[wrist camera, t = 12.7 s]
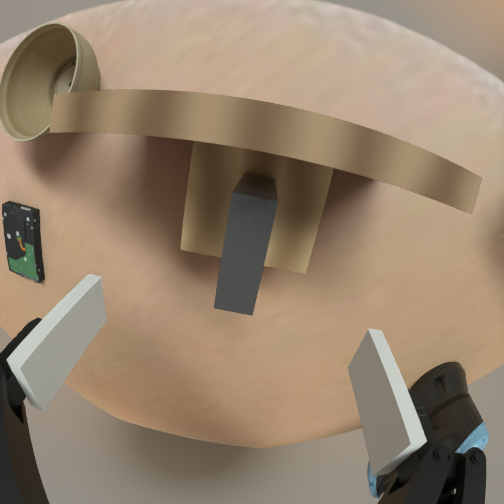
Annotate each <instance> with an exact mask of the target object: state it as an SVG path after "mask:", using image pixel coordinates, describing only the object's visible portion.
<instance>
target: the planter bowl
mask: <svg viewBox="0 0 504 504" xmlns="http://www.w3.org/2000/svg"><path fill="white" fill-rule="evenodd" d="M71 82H72V84H71V87H70V86H69V85H70V83H71ZM99 83H100V71H99V68H98V65H97V60H96V56H95V53H94V51H93V49H92V47H91V45H90V44H89V43H88V41H87V40H86V39H85V38H84V37H83V36H82V35H80V34H79V33H78V32H76V31H74V30H73V29H72V28H71V27H69V26H67V25H65V24H63V23H58V22H54V23H48V24H45V25H42V26H40V27H38V28H37V29H35V30H34V31H32V32H31V33H30V34H28V35H27V36H26V37H25V38H24V39H23V40H22V41H21V42H20V43H19V45H18V46H17V47H16V49H15V50H14V52H13V53H12V55H11V56H10V58H9V60H8V62H7V64H6V66H5V68H4V71H3V74H2V77H1V80H0V123H1V125H2V127H3V129H4V131H5V132H6V134H7V135H8V136H9V137H11V138H12V139H14V140H16V141H30V140H34V139H36V138H38V137H41V136H45V135H48V134H51V133H49V132H50V122H51V114H52V106H53V99H54V94H61V93H71V92H82V91H97V90H98V87H99Z"/></svg>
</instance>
